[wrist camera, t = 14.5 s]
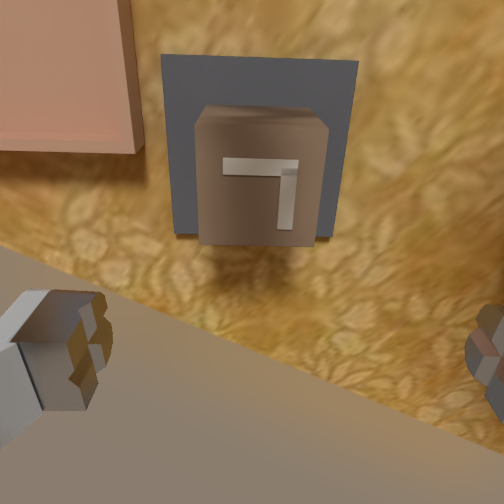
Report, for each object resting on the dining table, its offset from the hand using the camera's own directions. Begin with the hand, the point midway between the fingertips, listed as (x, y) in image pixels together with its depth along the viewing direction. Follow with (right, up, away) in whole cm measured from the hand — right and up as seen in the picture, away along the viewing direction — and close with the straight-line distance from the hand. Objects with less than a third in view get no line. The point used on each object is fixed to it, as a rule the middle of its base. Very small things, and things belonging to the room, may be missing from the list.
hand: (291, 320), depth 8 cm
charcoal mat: (-1, +7, +14) cm, 16 cm away
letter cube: (-1, +7, +13) cm, 15 cm away
